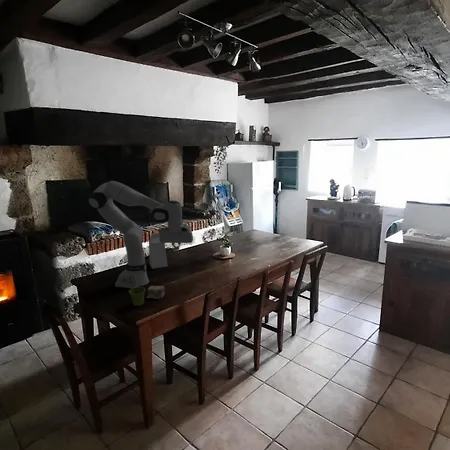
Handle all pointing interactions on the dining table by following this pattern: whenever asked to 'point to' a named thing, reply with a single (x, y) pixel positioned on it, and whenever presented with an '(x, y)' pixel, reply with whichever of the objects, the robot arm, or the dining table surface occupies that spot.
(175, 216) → the robot arm
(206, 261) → the dining table surface
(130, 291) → the plant pot
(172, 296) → the dining table surface
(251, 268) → the dining table surface
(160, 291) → the beech block
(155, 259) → the milk
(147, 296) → the grey mat
